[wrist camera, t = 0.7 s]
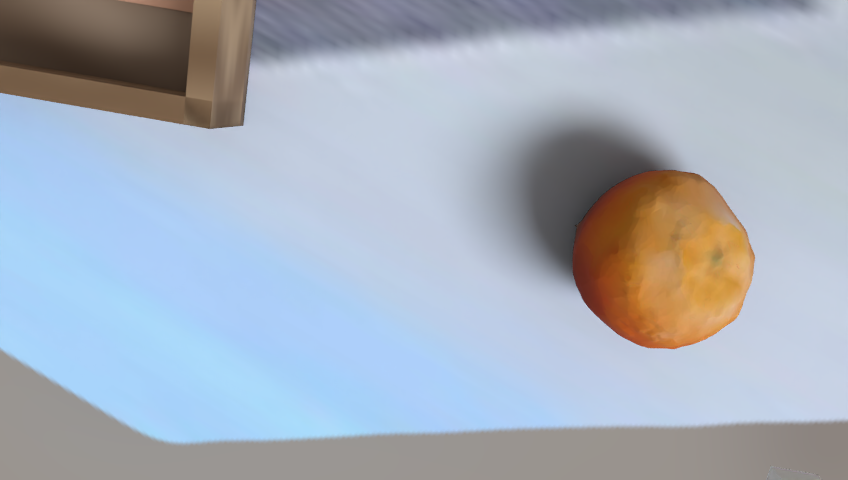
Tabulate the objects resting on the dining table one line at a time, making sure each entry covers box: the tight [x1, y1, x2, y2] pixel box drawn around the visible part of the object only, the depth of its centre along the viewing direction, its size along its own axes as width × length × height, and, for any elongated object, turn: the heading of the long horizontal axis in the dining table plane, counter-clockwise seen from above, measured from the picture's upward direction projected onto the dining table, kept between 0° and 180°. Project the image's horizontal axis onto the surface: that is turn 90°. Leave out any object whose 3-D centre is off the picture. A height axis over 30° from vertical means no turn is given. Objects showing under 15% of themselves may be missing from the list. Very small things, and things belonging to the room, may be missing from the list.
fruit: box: [573, 170, 755, 349], centre depth 30 cm, size 8×8×8 cm
